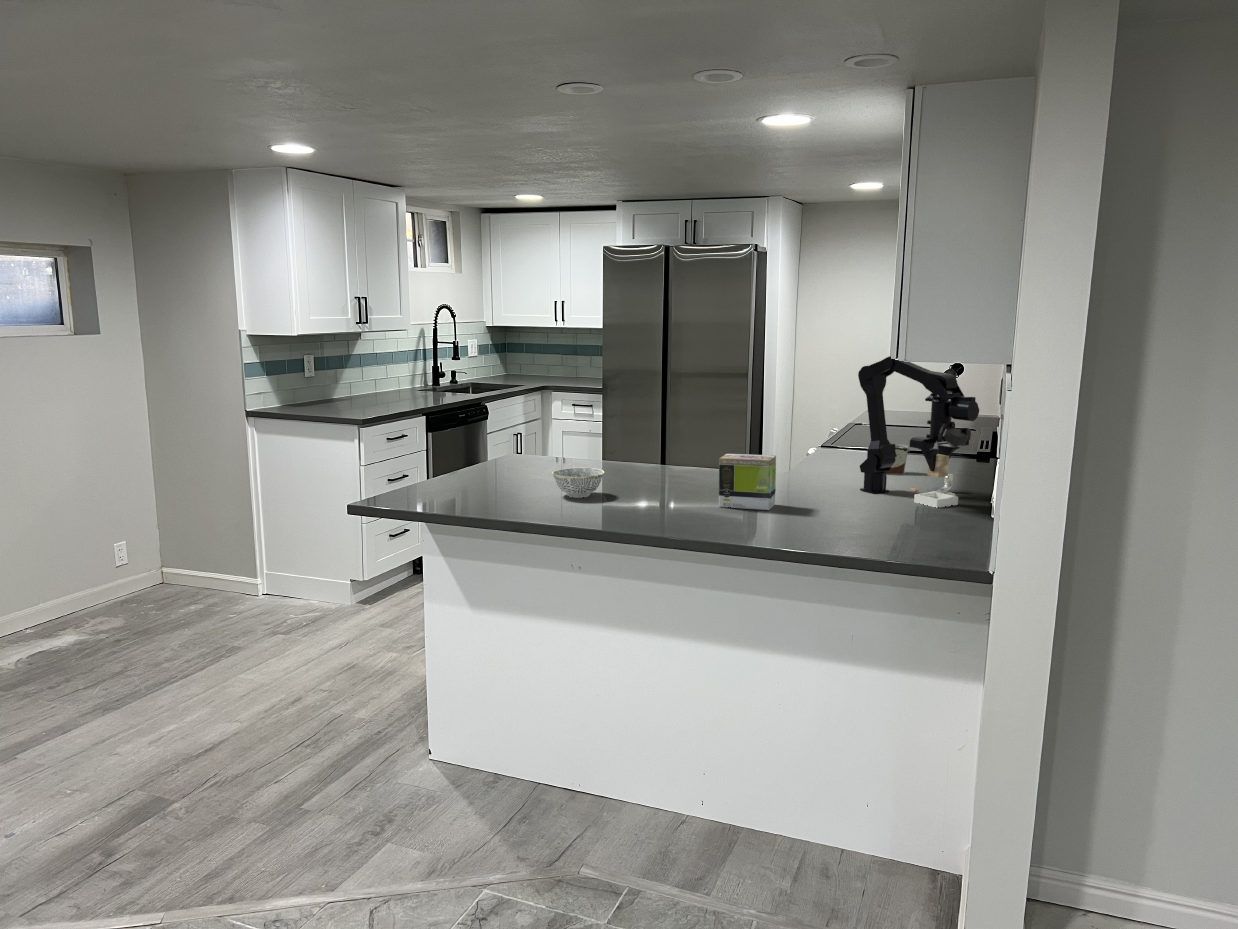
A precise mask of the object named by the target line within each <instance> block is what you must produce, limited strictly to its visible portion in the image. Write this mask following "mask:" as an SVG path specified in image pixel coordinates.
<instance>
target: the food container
mask: <svg viewBox="0 0 1238 929" xmlns="http://www.w3.org/2000/svg"><path fill="white" fill-rule="evenodd" d="M894 444H895V446H896V448H895V452H896V455H897V457H895V463H894V464H893V465H892V467H891V469H890V471H889V472H886V475H904V474H905V471H906V464H907V458H908V452H909V453H910V447H909V445H907V444H902V443H901V444H900V443H894Z"/></svg>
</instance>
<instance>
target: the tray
mask: <svg viewBox="0 0 1238 929" xmlns="http://www.w3.org/2000/svg"><path fill="white" fill-rule="evenodd" d="M928 492H929V493H928ZM928 492H922V493H915V494H914V495H913V497H914V500H913V503H915V504H919V503H920V505H923V504H924V505H925V506H927V505H928V506H929V507H932V508H935V507H936V509H938V507H939V508H946V507H951V505H953V506H958V504H959V496H957V495H955V496H952V495H948V494H944V493H939V492H930V491H928ZM945 506H946V507H945Z"/></svg>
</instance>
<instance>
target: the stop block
mask: <svg viewBox="0 0 1238 929" xmlns="http://www.w3.org/2000/svg"><path fill="white" fill-rule="evenodd" d="M949 464H950V459H949V456H946V455H941V454H939V453H937V456H936V464H935V470H934V471H930V468H929V466H928V465H927V476H929V477H934V478H945V477H946V476H948V474H949Z"/></svg>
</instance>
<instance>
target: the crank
mask: <svg viewBox="0 0 1238 929" xmlns="http://www.w3.org/2000/svg"><path fill="white" fill-rule="evenodd" d="M943 479H944V480H943V481H944V484H943V486H941V487H940V488H937V489H936V491H937V492H939V493H944V494H946V493H947V492H949V490H950V489H952V486H953V479H954V474H953V473H948V476H946V477H944V478H943Z"/></svg>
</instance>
